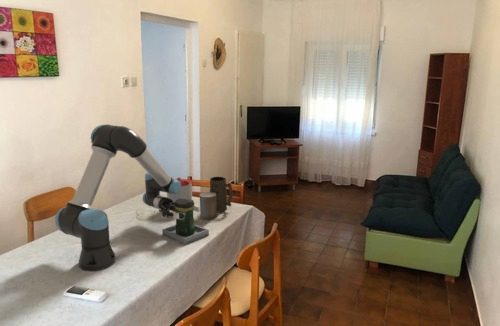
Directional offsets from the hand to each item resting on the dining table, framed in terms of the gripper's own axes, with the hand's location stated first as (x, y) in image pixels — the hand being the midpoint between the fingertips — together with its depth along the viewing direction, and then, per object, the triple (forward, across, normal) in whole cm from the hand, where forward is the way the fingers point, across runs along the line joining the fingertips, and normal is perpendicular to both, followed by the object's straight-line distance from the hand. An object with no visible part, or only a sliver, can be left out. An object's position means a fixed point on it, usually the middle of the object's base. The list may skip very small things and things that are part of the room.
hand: (189, 212), depth 202 cm
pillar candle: (-14, -26, -13) cm, 33 cm away
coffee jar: (-3, 0, -12) cm, 13 cm away
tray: (-3, 0, -13) cm, 13 cm away
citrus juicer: (-38, -24, -13) cm, 47 cm away
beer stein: (-17, -40, -13) cm, 46 cm away
